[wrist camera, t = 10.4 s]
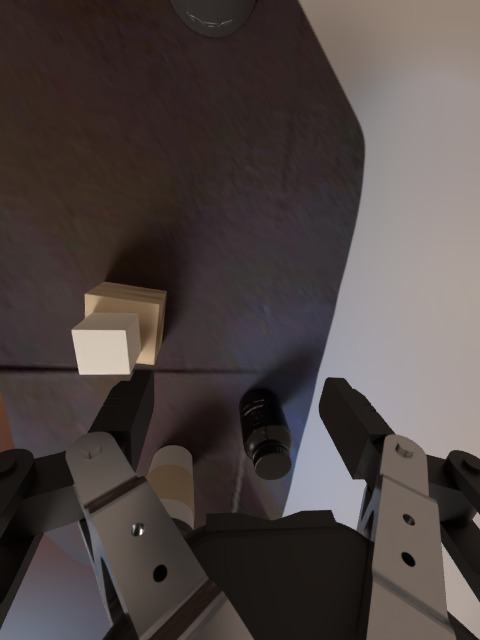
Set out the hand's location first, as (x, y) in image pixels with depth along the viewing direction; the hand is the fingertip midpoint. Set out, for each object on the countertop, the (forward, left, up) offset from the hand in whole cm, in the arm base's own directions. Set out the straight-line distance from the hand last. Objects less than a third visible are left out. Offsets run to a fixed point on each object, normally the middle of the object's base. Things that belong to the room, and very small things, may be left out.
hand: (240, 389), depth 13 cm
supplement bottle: (+21, +7, -26) cm, 34 cm away
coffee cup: (+33, -7, -26) cm, 43 cm away
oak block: (+6, -12, -26) cm, 29 cm away
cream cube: (+7, -12, -20) cm, 24 cm away
